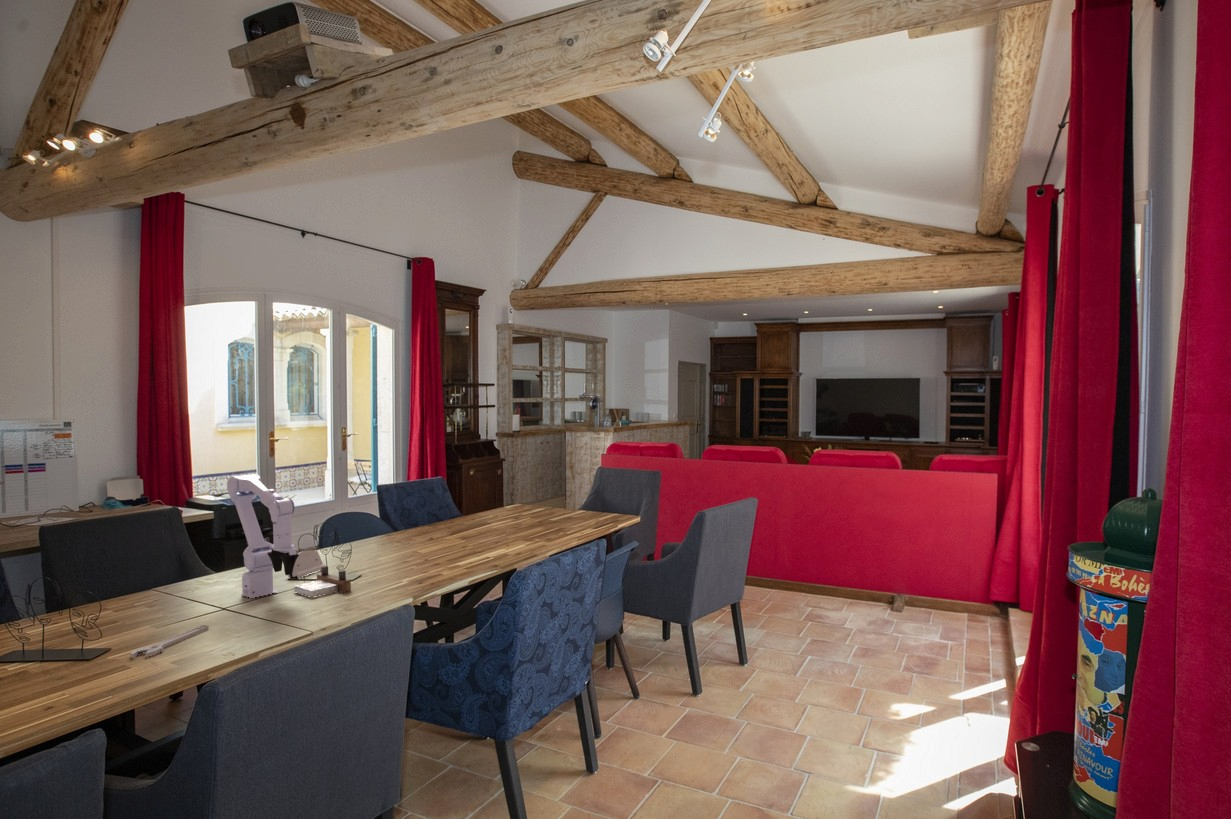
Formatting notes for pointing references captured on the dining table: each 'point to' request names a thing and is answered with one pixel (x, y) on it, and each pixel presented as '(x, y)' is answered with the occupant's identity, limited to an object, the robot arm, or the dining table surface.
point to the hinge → (306, 563)
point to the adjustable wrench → (166, 643)
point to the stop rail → (335, 579)
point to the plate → (316, 588)
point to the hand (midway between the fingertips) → (283, 572)
